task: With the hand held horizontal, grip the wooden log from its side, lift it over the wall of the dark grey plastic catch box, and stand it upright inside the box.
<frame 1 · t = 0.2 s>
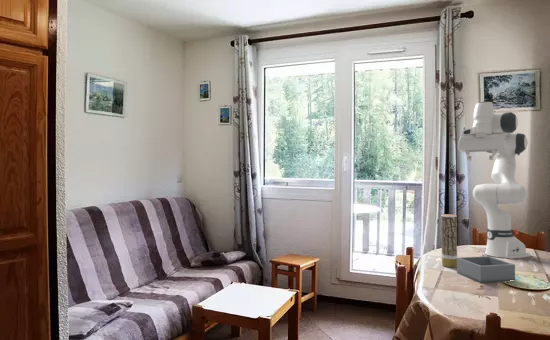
hand: (480, 159, 182), 52 cm above the table, tool tilted 20°, fingers open, 8 cm apart
catch box: (484, 276, 169), on the table
wooden log: (449, 266, 188), on the table
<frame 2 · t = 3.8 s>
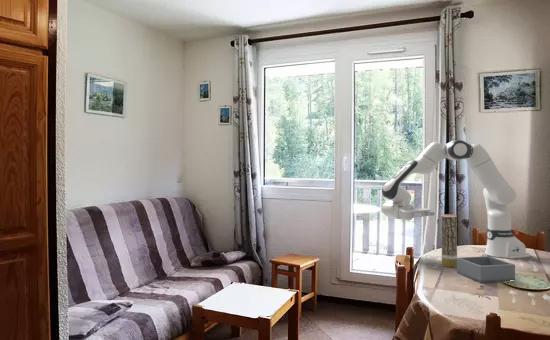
hand: (428, 214, 198), 24 cm above the table, tool horizontal, fingers open, 8 cm apart
nothing on the table moved.
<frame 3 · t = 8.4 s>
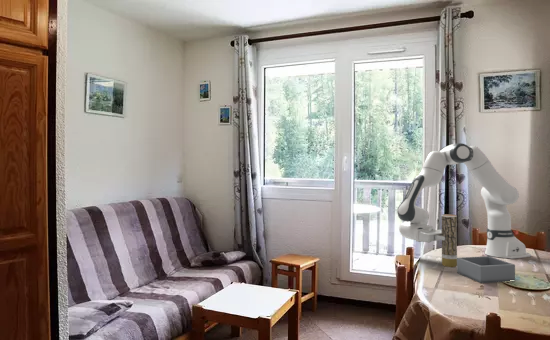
hand: (450, 237, 187), 14 cm above the table, tool horizontal, fingers closed on wooden log, 7 cm apart
wooden log: (449, 266, 188), on the table, touching gripper
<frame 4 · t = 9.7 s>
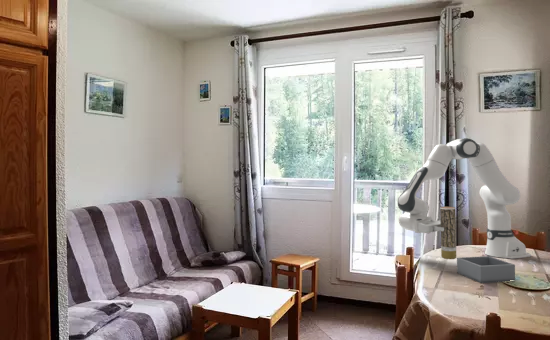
hand: (449, 228, 188), 18 cm above the table, tool horizontal, fingers closed on wooden log, 7 cm apart
wooden log: (448, 258, 189), point 4 cm above the table, touching gripper
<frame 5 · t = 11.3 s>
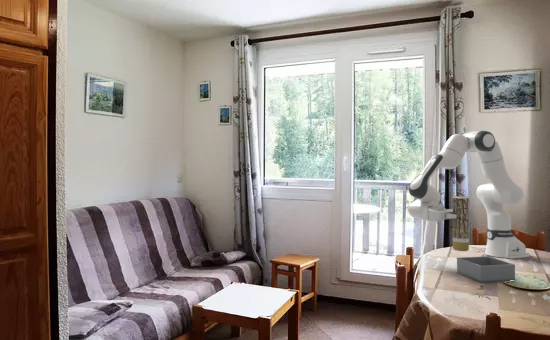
hand: (462, 215, 178), 26 cm above the table, tool horizontal, fingers closed on wooden log, 7 cm apart
wooden log: (460, 250, 179), point 9 cm above the table, touching gripper
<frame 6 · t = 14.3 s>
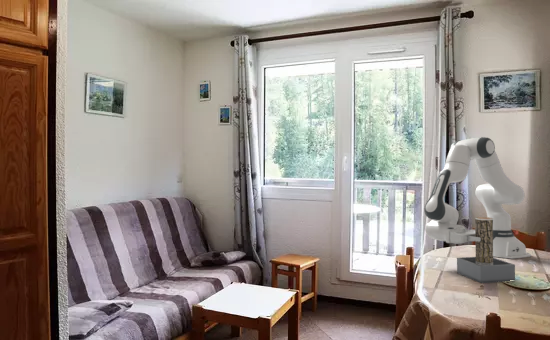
hand: (486, 238, 168), 17 cm above the table, tool horizontal, fingers closed on wooden log, 7 cm apart
wooden log: (484, 275, 169), point 1 cm above the table, touching catch box, gripper
when the fingers open (16 cm above the table, at t = 15.2 s): wooden log stays where it is, resting on catch box.
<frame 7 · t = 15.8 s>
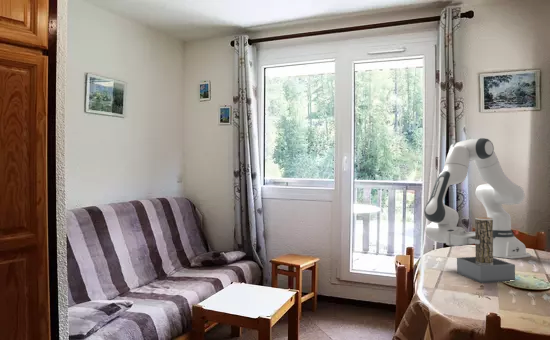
hand: (486, 240, 168), 16 cm above the table, tool horizontal, fingers open, 8 cm apart
wooden log: (484, 275, 169), point 1 cm above the table, touching catch box
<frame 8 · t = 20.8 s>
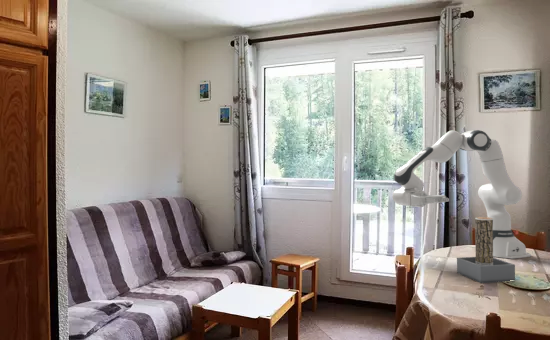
hand: (441, 200, 191), 32 cm above the table, tool horizontal, fingers open, 8 cm apart
nothing on the table moved.
at the end: wooden log inside the target area on the catch box (0.2 cm from its centre), point 0.8 cm above the catch box's base; wooden log tilted 0°; the gripper is holding nothing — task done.
